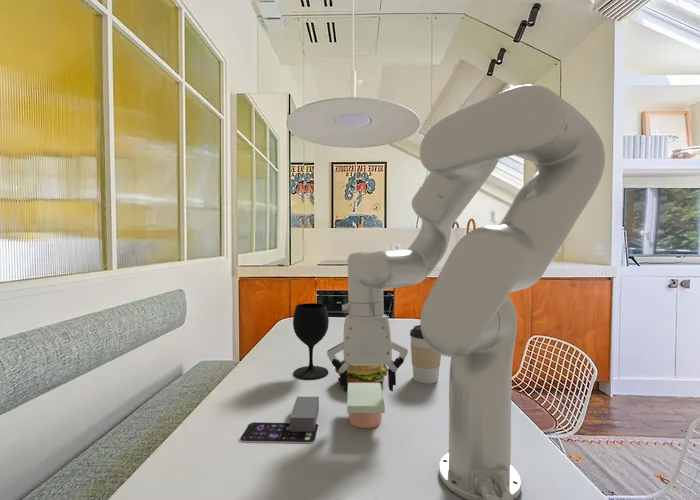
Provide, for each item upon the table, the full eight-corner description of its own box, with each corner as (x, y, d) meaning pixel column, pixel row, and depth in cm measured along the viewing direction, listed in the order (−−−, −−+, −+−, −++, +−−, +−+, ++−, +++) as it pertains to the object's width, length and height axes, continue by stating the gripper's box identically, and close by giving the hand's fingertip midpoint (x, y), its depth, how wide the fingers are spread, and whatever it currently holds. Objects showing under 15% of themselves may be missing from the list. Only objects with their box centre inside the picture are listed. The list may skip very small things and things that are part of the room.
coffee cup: (443, 386, 97) (443, 330, 97) (408, 383, 99) (409, 329, 98) (441, 374, 106) (441, 323, 105) (410, 372, 108) (410, 321, 107)
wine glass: (285, 375, 104) (285, 307, 104) (306, 365, 114) (306, 301, 113) (316, 382, 99) (316, 310, 99) (335, 370, 109) (335, 304, 108)
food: (396, 381, 100) (397, 353, 100) (370, 400, 89) (371, 368, 88) (355, 371, 108) (355, 345, 108) (326, 387, 96) (326, 357, 96)
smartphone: (314, 442, 69) (237, 441, 70) (314, 445, 69) (237, 444, 70) (319, 423, 77) (249, 421, 77) (319, 425, 77) (249, 424, 77)
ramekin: (382, 428, 75) (382, 407, 75) (348, 428, 75) (348, 407, 75) (379, 412, 82) (380, 393, 82) (349, 412, 82) (349, 393, 82)
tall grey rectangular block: (314, 432, 73) (314, 417, 73) (289, 432, 73) (289, 417, 73) (318, 409, 83) (318, 396, 83) (297, 409, 83) (297, 396, 83)
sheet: (384, 413, 72) (384, 406, 72) (347, 413, 72) (347, 406, 72) (380, 388, 84) (380, 382, 84) (347, 388, 84) (347, 382, 84)
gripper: (324, 313, 74) (326, 397, 74) (409, 311, 74) (411, 395, 74) (327, 307, 81) (329, 383, 81) (404, 305, 81) (406, 382, 81)
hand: (368, 389), depth 77 cm, fingers open, 9 cm apart
